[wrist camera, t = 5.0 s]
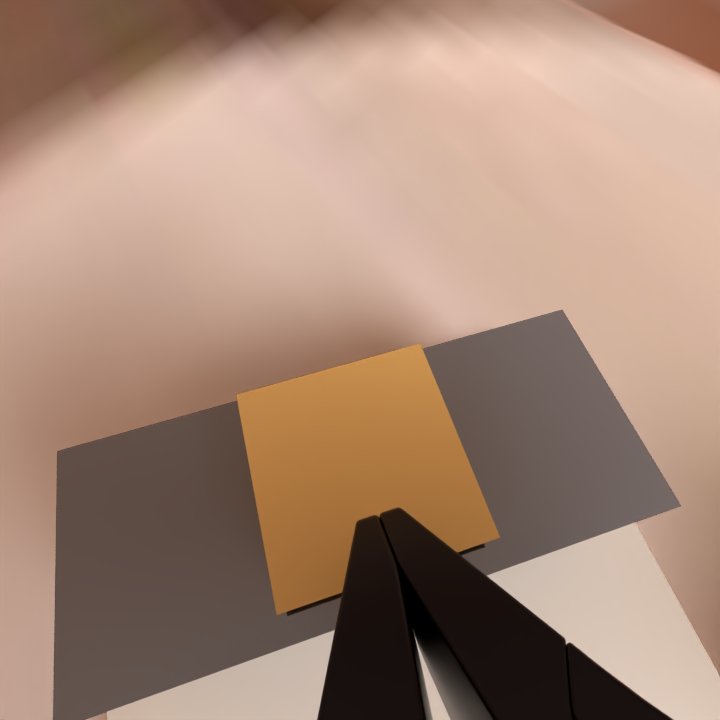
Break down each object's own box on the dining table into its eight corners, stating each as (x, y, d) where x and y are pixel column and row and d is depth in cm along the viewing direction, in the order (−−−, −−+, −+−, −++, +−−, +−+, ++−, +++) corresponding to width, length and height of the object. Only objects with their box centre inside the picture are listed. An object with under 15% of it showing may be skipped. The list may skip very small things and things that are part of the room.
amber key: (464, 538, 11) (500, 537, 8) (299, 595, 10) (276, 615, 7) (407, 386, 13) (420, 343, 10) (264, 427, 12) (236, 394, 9)
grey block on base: (782, 844, 13) (1192, 1138, 6) (152, 1152, 11) (-167, 2082, 4) (522, 351, 20) (595, 264, 14) (119, 468, 18) (-14, 428, 12)
